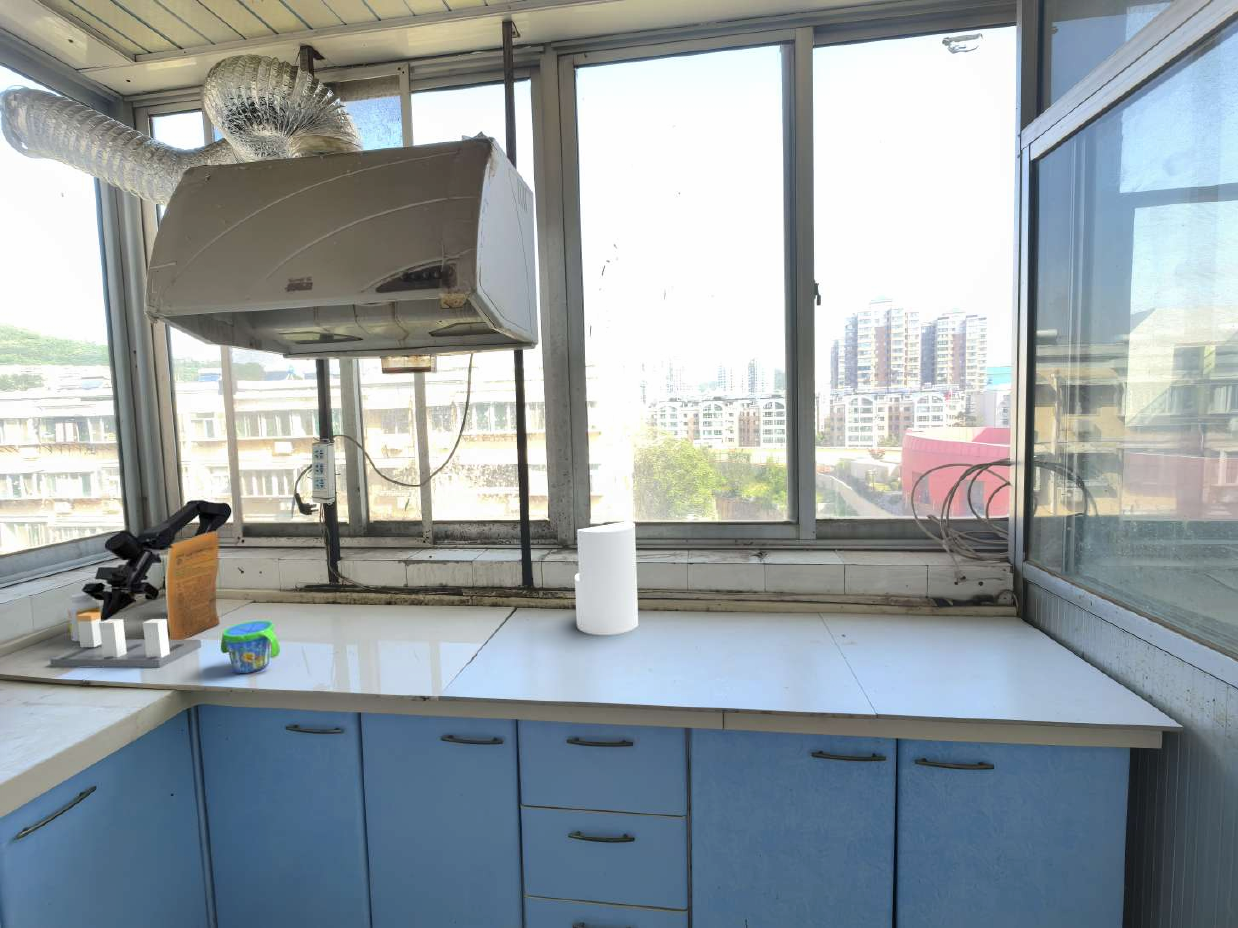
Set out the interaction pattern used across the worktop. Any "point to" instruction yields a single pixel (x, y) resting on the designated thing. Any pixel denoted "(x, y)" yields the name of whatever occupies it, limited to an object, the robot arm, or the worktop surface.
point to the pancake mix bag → (192, 585)
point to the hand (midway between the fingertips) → (103, 619)
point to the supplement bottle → (80, 611)
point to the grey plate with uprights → (129, 648)
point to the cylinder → (607, 579)
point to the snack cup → (250, 645)
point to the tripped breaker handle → (89, 629)
